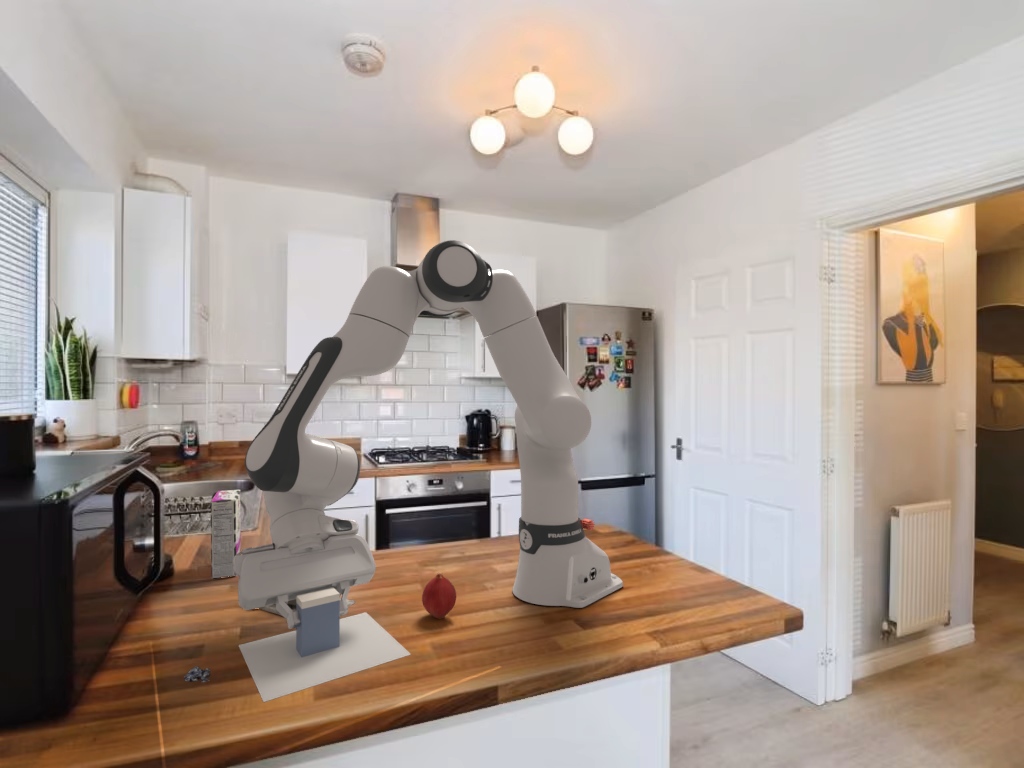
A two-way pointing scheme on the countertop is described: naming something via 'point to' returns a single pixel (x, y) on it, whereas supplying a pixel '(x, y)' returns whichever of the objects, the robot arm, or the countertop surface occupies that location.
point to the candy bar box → (225, 532)
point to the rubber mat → (318, 657)
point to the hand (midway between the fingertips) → (319, 620)
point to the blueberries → (197, 674)
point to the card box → (318, 621)
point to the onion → (439, 596)
